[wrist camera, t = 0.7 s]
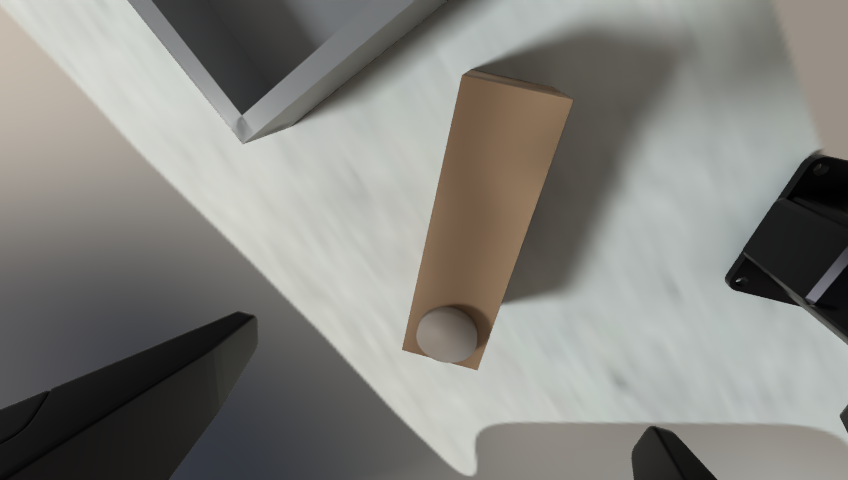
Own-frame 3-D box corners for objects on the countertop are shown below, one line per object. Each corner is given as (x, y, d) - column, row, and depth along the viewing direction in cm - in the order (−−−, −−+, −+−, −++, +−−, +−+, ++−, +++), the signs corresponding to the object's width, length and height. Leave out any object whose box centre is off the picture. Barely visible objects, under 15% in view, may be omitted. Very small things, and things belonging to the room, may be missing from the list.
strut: (552, 87, 16) (577, 102, 11) (481, 306, 22) (476, 380, 17) (471, 69, 17) (460, 76, 12) (420, 290, 22) (399, 359, 17)
